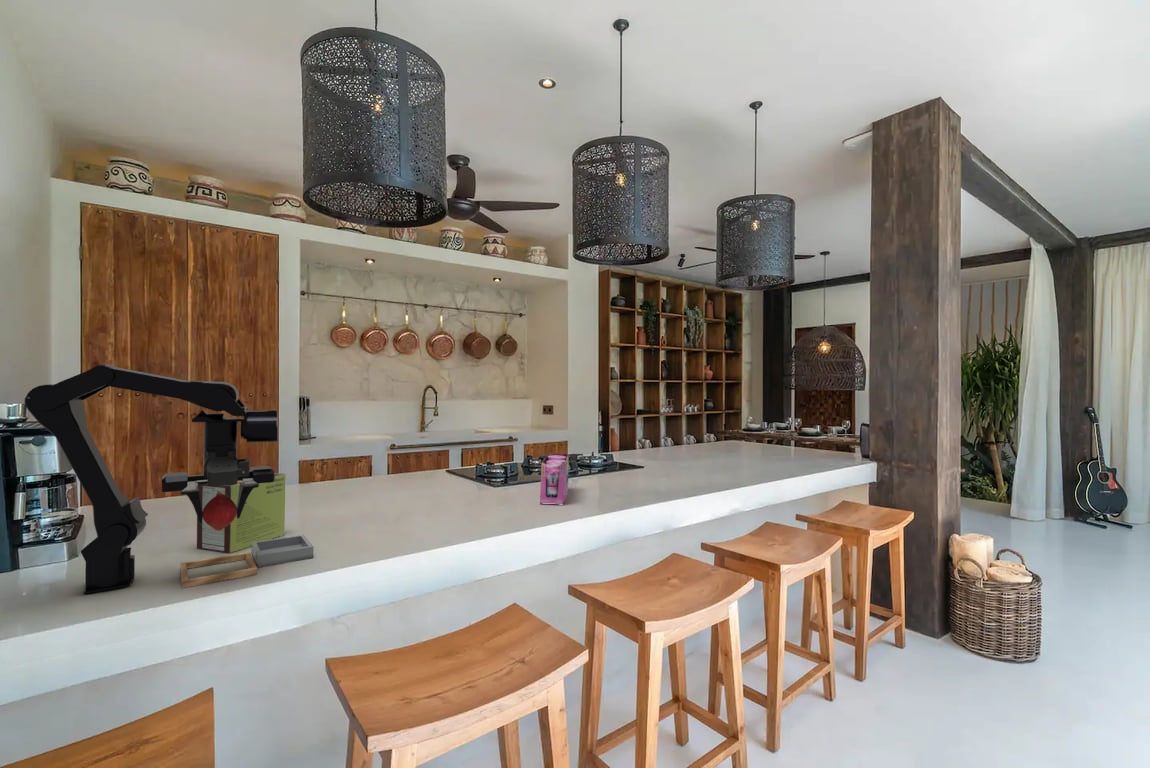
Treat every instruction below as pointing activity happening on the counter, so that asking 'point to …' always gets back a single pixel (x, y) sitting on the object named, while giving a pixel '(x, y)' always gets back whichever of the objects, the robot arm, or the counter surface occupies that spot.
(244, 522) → the protein box
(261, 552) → the dish
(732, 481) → the counter surface
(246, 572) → the brown wooden frame
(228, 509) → the onion
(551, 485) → the gum box
